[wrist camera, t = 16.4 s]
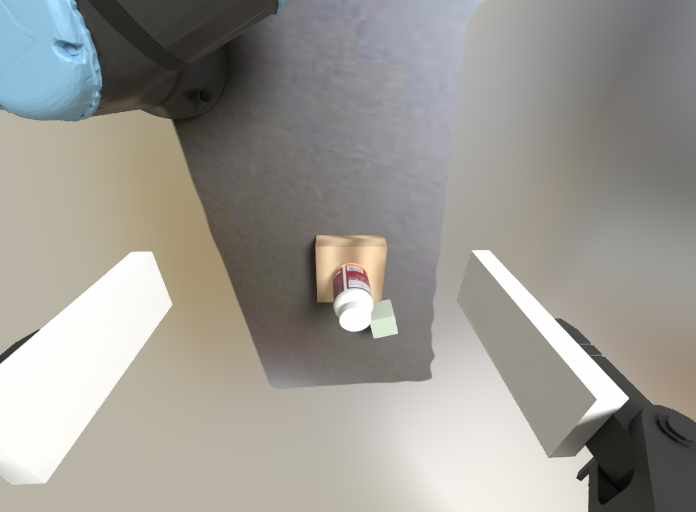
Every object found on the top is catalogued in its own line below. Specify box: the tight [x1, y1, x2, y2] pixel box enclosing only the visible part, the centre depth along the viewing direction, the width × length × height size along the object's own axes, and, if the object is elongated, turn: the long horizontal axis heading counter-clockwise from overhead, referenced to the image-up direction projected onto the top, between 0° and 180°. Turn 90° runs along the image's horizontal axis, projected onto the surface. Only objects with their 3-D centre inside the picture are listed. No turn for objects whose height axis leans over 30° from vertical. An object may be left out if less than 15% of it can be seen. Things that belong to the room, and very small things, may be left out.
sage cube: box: [370, 299, 398, 338], centre depth 58 cm, size 5×5×5 cm
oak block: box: [315, 236, 387, 302], centre depth 52 cm, size 12×12×4 cm
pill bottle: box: [333, 263, 373, 331], centre depth 45 cm, size 6×6×11 cm
